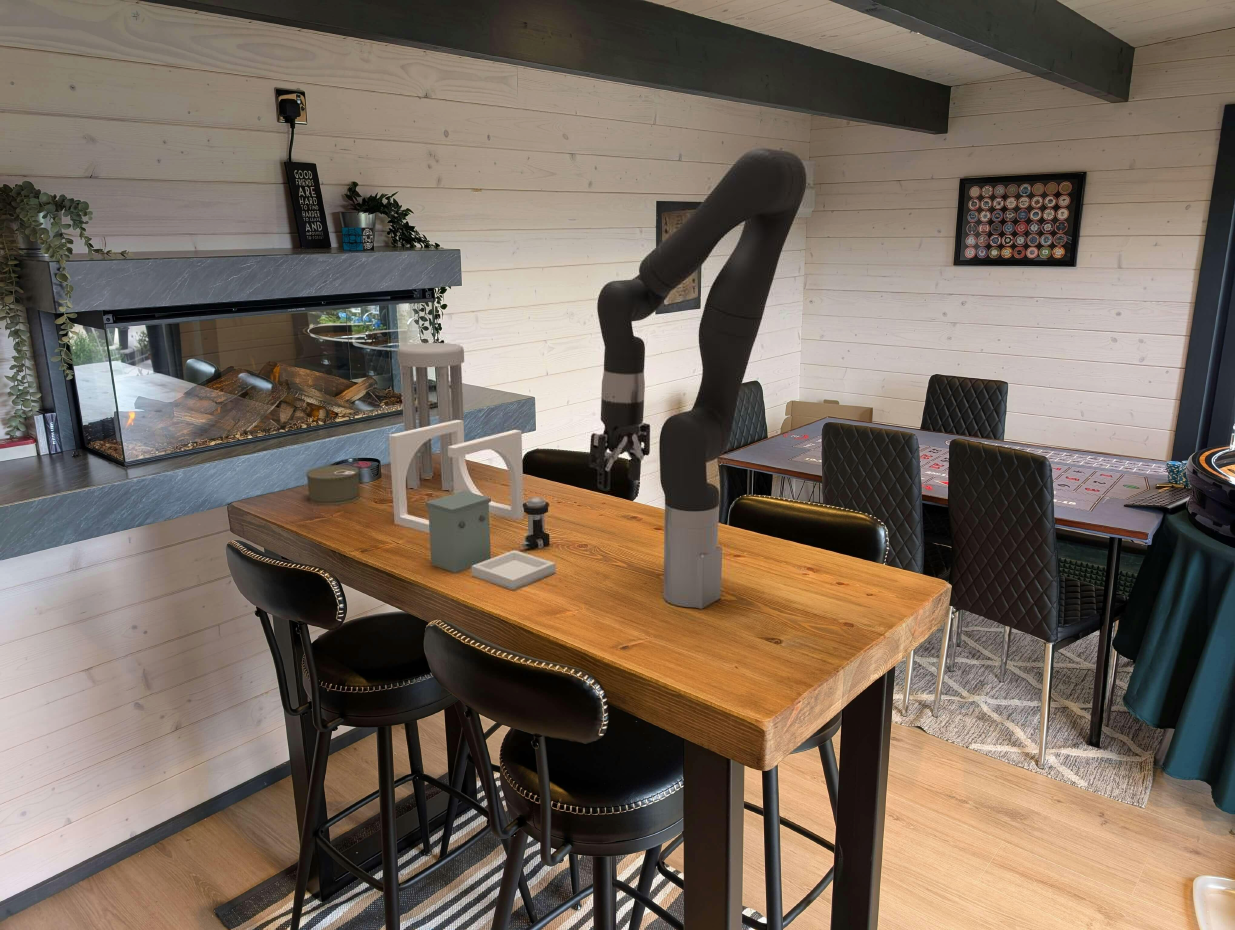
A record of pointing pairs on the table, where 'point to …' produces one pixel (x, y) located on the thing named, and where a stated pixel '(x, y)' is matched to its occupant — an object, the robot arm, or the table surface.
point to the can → (333, 484)
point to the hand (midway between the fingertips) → (619, 484)
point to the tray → (513, 570)
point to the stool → (421, 359)
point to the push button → (536, 523)
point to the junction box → (459, 530)
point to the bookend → (455, 467)
